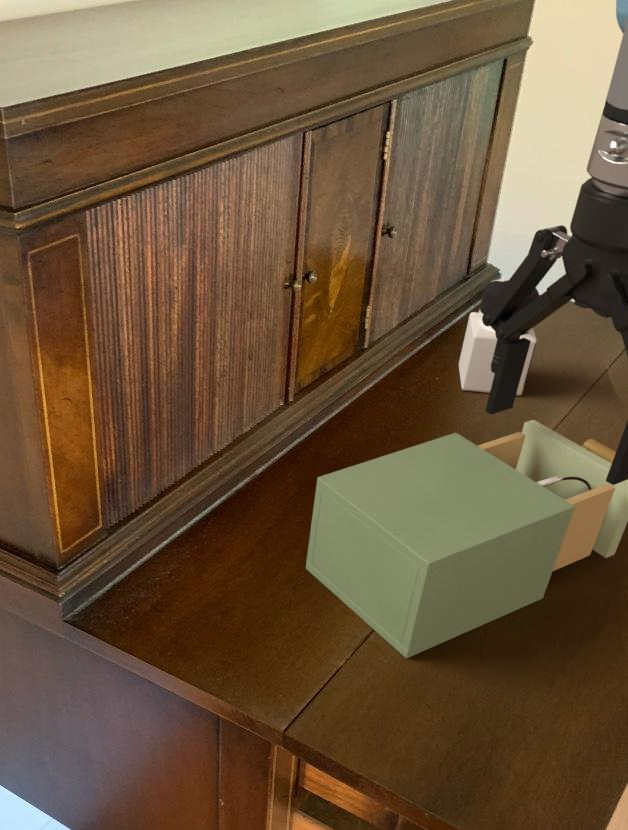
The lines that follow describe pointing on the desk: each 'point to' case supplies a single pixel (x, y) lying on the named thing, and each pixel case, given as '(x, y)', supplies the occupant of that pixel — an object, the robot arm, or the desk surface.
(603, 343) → the desk surface
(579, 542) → the drawer
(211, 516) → the desk surface
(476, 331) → the medicine bottle
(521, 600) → the cabinet
